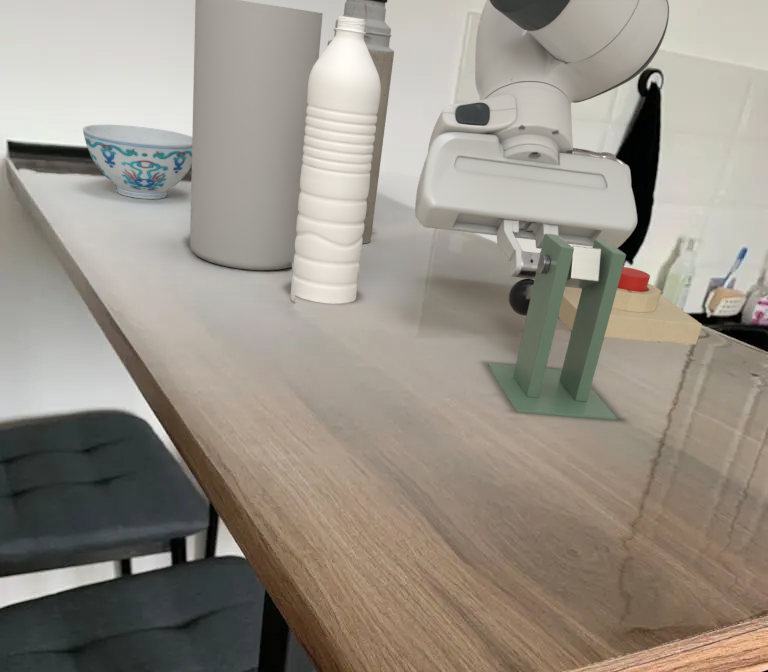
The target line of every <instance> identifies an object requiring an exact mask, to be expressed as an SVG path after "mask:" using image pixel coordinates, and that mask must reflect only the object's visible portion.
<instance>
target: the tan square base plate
mask: <svg viewBox="0 0 768 672" xmlns="http://www.w3.org/2000/svg"><path fill="white" fill-rule="evenodd" d="M581 292H582V289H581V288H572V287H565V290H564V294H563V298H562V302H561V307H560V311H559V315H558V318H559V319H560V321H562V323H563V324H564V325H565V326H566V327H567V328H568V329H569V330H570V331H571V332H572V328H573V324H574V320H575V316H576V312H577V308H578V304H579V300H580V296H581ZM702 327H703V324H702V323H701V322H699V321H698V320H697V319H695V318H694V317H693V316H691V315H690V314H689V313H687V312H686V311H684V310H683V309H681V308H680V307H679V306H677V304H675V303H674V302H672V301H670V300H669V299H668V298H667V297H666V296H664V295H662V290H661V289H659V288H658V287H656V286H655V285H653V284H650V283H648V286H647V289H646V292H637V291H629V290H624V289H620V288H617V291H616V295H615V299H614V303H613V306H612V310H611V314H610V317H609V321H608V325H607V329H606V332H605V336H604V338H611V339H622V340H630V341H631V340H632V341H640V342H641V341H642V342H651V343H652V342H653V343H661V342H662V343H663V342H664V343H675V344H684V345H694V346H696V345H697V342H698V340H699V337H700V333H701V330H702Z"/></svg>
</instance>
